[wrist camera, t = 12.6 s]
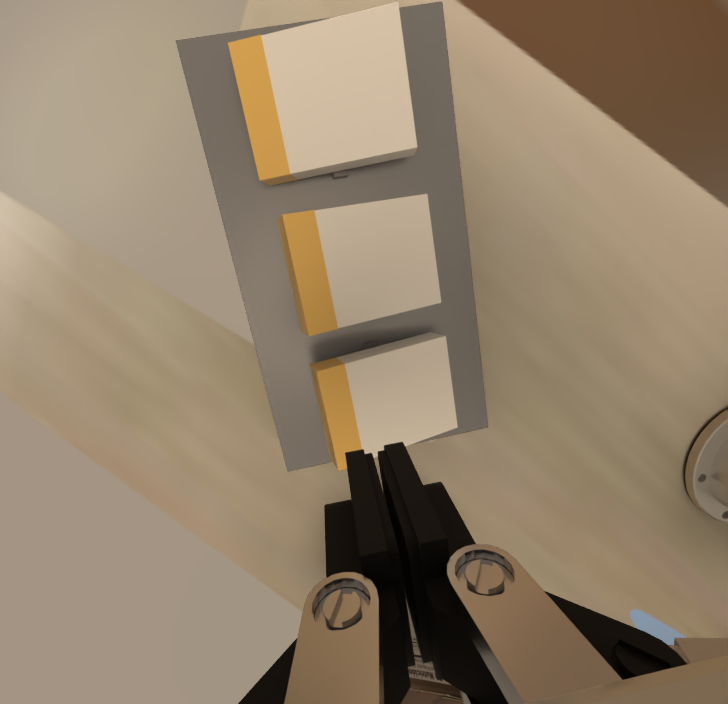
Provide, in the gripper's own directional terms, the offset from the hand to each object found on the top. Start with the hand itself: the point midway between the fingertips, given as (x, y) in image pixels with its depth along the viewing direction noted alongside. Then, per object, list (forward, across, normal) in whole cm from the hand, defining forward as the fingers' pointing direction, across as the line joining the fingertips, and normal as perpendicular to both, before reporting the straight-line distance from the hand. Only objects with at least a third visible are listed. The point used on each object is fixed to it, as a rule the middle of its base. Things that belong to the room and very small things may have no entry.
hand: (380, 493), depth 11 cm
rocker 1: (+13, -1, -14) cm, 19 cm away
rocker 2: (+13, -2, -6) cm, 15 cm away
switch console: (+20, -2, -6) cm, 21 cm away
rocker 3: (+13, -2, +2) cm, 13 cm away
